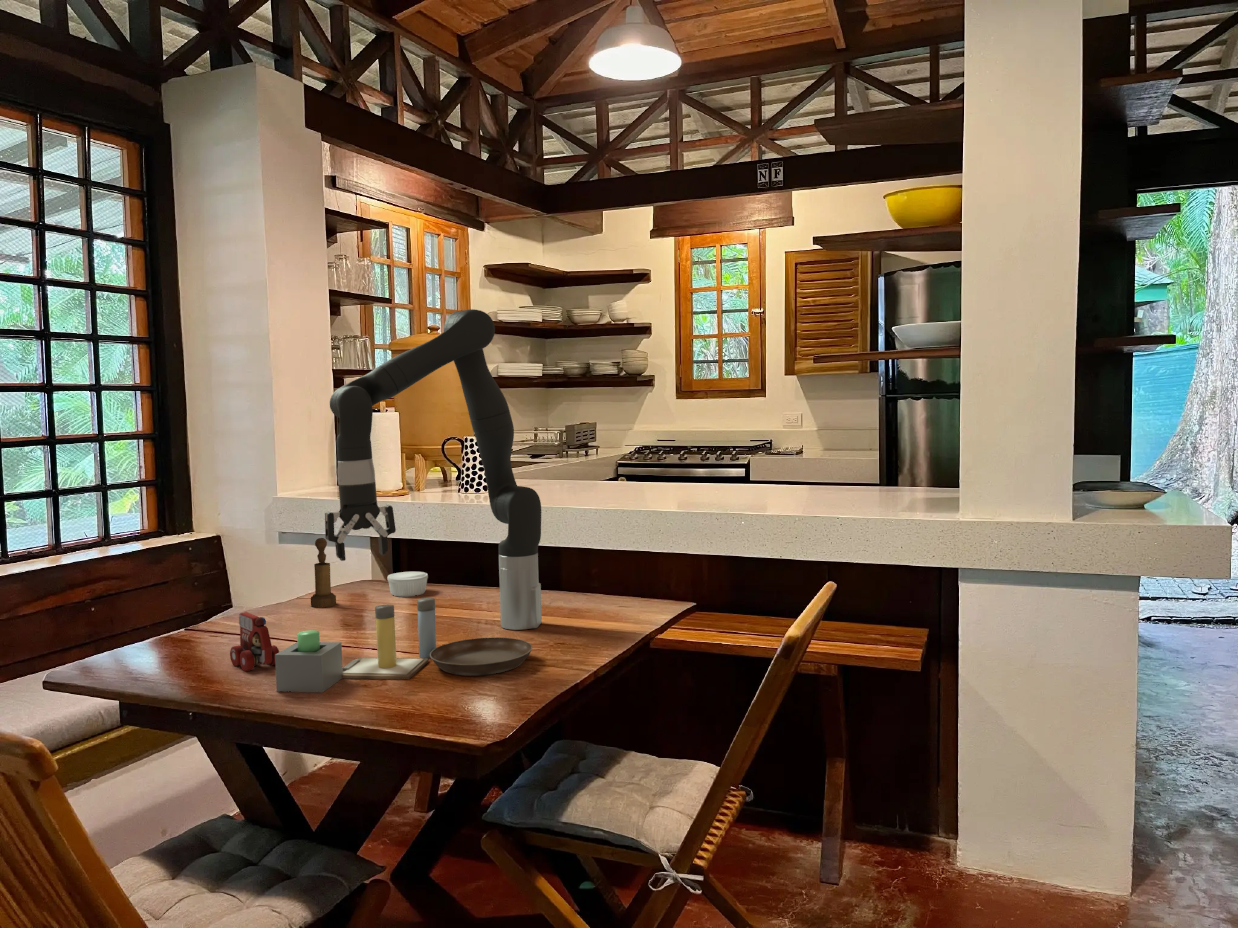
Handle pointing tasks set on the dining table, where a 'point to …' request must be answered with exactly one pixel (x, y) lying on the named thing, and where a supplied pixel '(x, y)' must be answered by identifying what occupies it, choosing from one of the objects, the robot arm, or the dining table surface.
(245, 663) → the toy fire truck
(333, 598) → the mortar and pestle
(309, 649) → the button
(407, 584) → the ramekin
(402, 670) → the sketch pad
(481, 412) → the robot arm
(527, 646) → the plant saucer
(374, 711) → the dining table surface
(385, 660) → the marker mustard
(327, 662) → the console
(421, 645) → the slate
